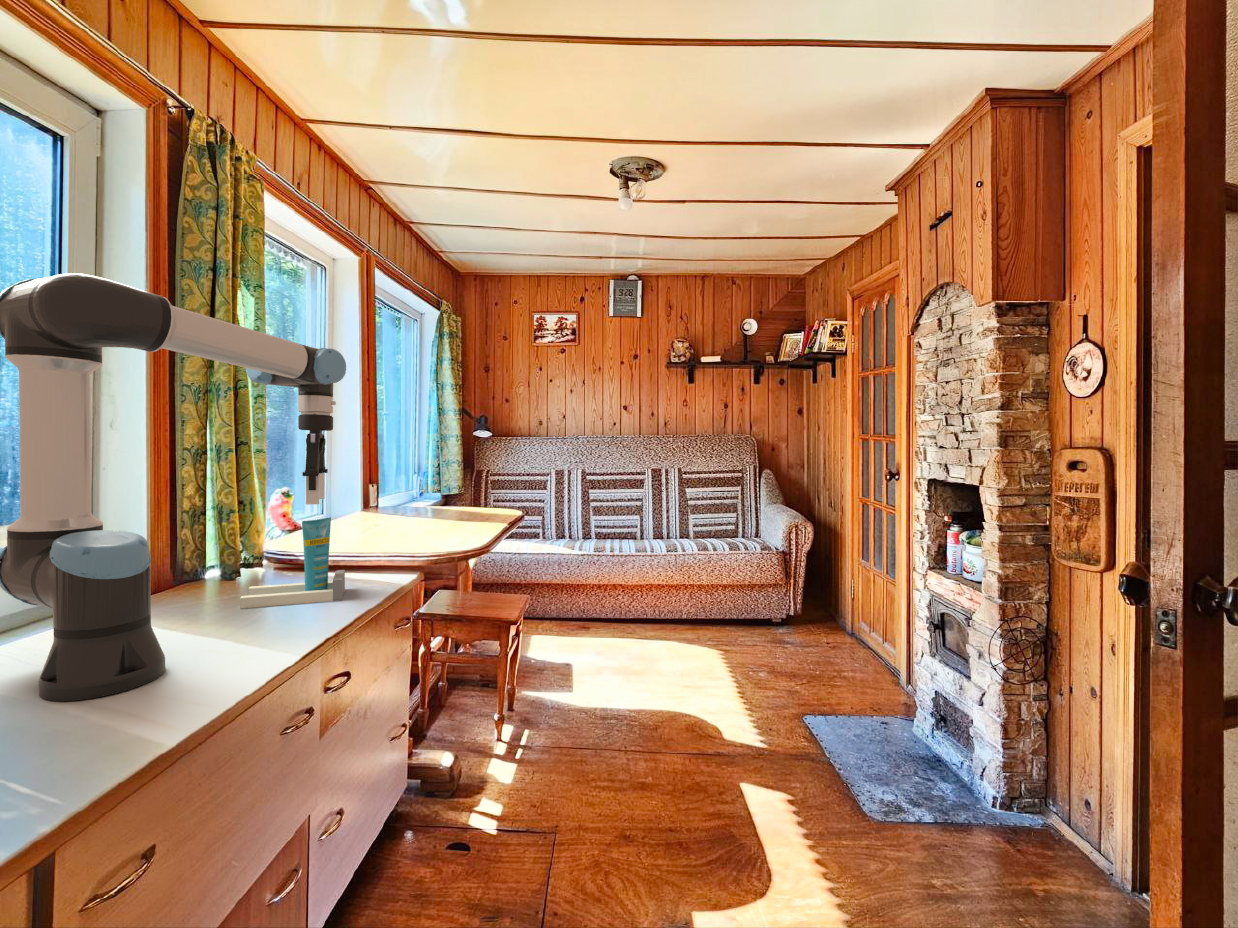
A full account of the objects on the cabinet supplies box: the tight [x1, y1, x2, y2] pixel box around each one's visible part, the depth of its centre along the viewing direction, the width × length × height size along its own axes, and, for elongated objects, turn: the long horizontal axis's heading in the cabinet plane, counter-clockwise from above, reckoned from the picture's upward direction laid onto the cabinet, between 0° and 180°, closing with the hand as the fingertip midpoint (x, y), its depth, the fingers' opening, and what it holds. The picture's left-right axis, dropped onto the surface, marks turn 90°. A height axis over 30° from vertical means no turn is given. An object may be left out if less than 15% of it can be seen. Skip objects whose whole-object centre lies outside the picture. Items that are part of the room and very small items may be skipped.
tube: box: [301, 517, 332, 591], centre depth 144 cm, size 7×5×19 cm, turn 156°
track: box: [239, 569, 346, 610], centre depth 142 cm, size 11×21×5 cm, turn 112°
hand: (315, 501), depth 143 cm, fingers open, 13 cm apart
